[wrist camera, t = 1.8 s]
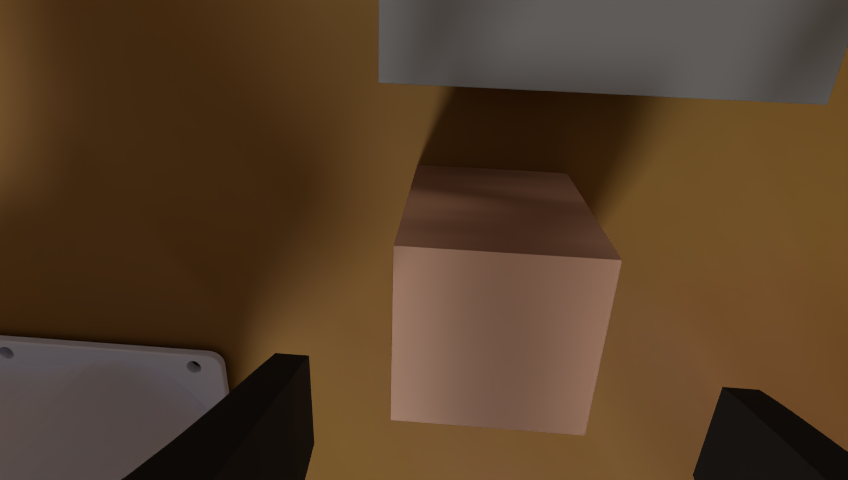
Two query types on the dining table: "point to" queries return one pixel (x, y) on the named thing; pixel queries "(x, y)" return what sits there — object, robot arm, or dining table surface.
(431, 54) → the charcoal plinth
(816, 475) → the robot arm
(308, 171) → the dining table surface
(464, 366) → the terracotta block
